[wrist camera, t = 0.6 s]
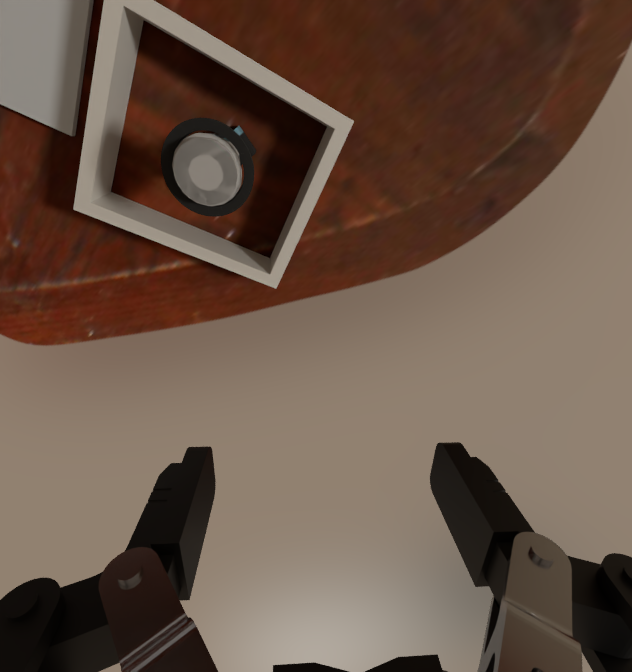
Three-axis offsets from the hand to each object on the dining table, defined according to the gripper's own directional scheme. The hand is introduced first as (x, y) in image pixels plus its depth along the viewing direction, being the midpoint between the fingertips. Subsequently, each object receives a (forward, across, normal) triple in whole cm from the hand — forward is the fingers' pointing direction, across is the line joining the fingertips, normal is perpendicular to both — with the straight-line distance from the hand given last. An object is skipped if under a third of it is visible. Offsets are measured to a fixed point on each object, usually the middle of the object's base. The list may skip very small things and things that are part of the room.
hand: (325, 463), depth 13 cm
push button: (+23, +7, -11) cm, 26 cm away
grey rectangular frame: (+23, +7, -11) cm, 26 cm away
